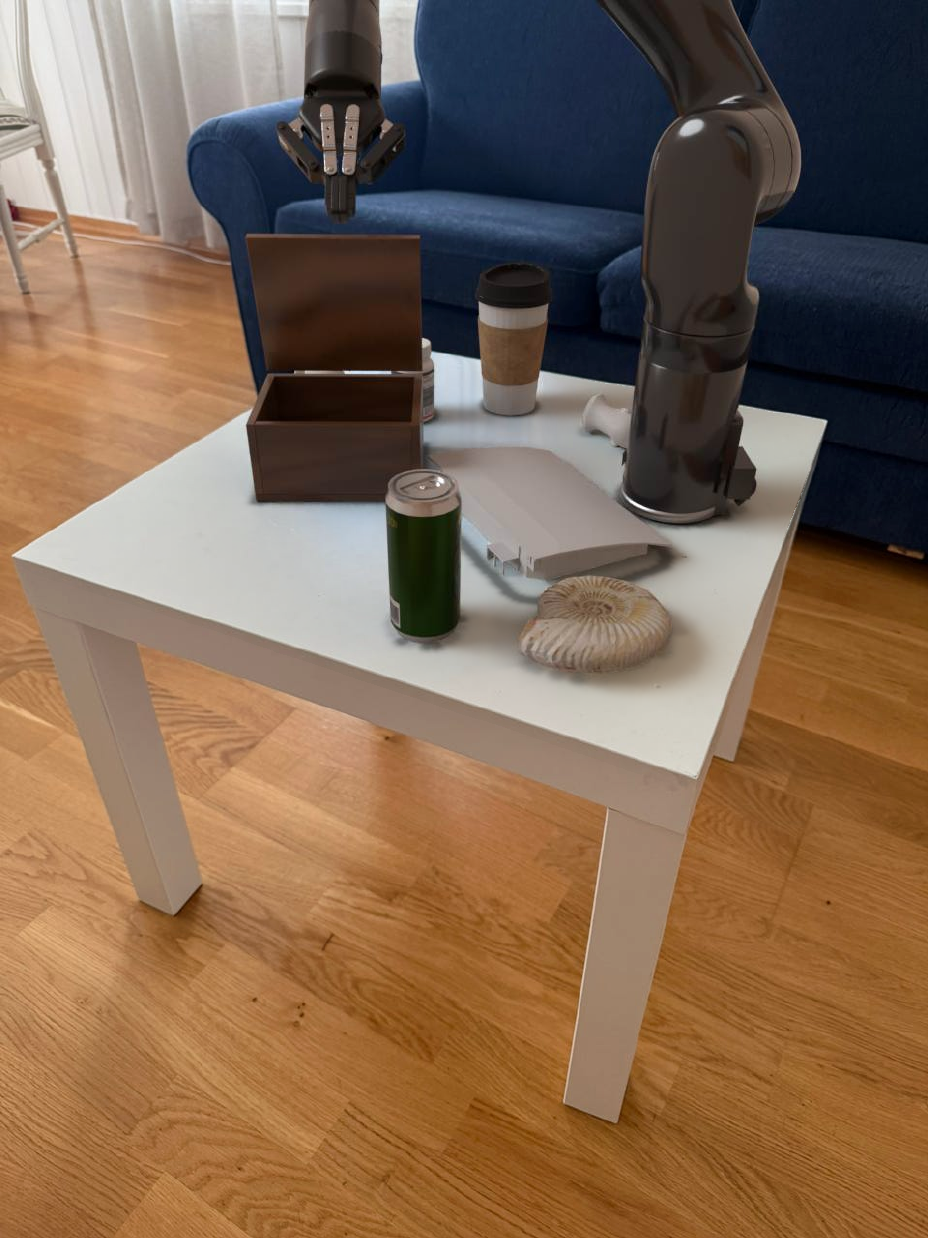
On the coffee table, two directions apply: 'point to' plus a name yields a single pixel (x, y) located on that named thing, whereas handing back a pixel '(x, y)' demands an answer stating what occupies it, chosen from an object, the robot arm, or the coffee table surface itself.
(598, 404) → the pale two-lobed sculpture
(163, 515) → the coffee table surface
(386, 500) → the beer can
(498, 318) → the coffee cup
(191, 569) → the coffee table surface
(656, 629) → the fossil
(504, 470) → the white stadium model
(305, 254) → the lid
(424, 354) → the pill bottle
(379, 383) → the chest
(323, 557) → the coffee table surface
